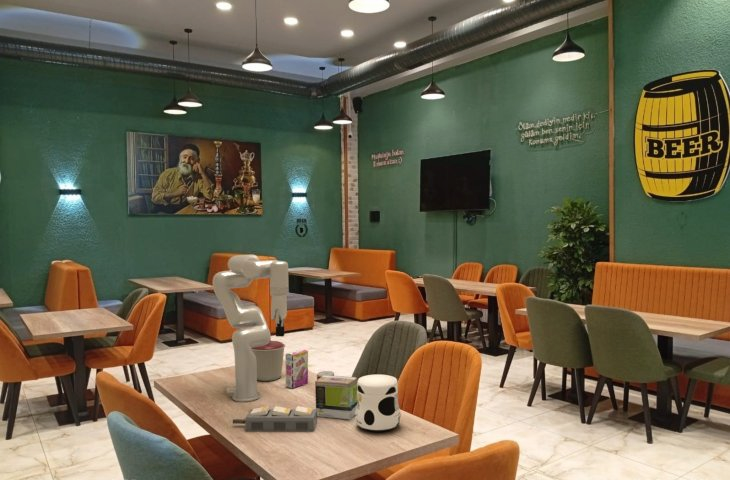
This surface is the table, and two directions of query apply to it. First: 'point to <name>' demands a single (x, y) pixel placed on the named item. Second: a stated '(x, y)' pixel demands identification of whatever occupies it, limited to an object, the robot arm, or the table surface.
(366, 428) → the milk container
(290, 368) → the candy bar box
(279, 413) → the rocker
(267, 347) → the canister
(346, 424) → the table surface
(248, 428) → the power strip
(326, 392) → the tea box
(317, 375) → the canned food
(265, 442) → the table surface
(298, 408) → the rocker
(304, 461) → the table surface
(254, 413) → the rocker
